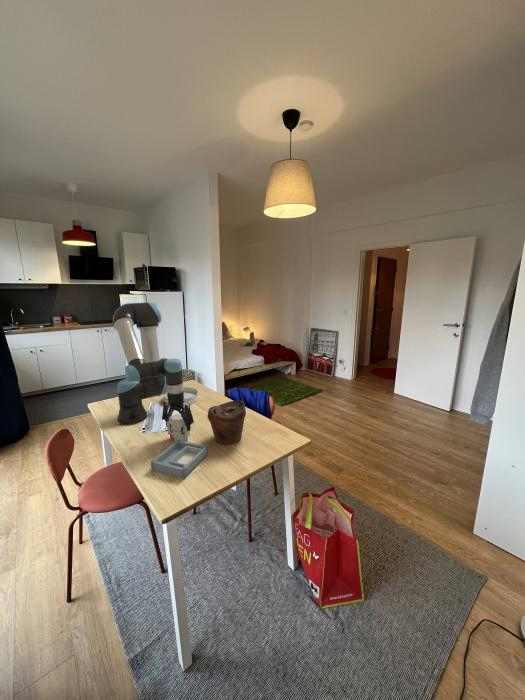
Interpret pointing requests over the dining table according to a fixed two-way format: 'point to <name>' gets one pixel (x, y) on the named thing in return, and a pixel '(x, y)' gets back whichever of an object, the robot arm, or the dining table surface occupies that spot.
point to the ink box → (177, 428)
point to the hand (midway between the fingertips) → (178, 434)
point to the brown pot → (227, 421)
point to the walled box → (179, 459)
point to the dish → (187, 395)
